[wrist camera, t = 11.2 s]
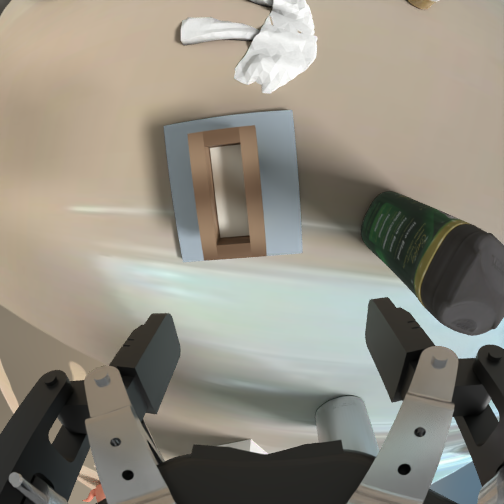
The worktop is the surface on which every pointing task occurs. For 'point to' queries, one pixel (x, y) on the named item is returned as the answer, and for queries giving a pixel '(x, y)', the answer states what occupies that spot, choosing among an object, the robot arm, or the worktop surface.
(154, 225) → the worktop surface
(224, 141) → the frame
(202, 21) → the cloth
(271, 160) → the panel
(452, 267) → the coffee jar
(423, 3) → the sprinkles bottle
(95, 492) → the teapot
